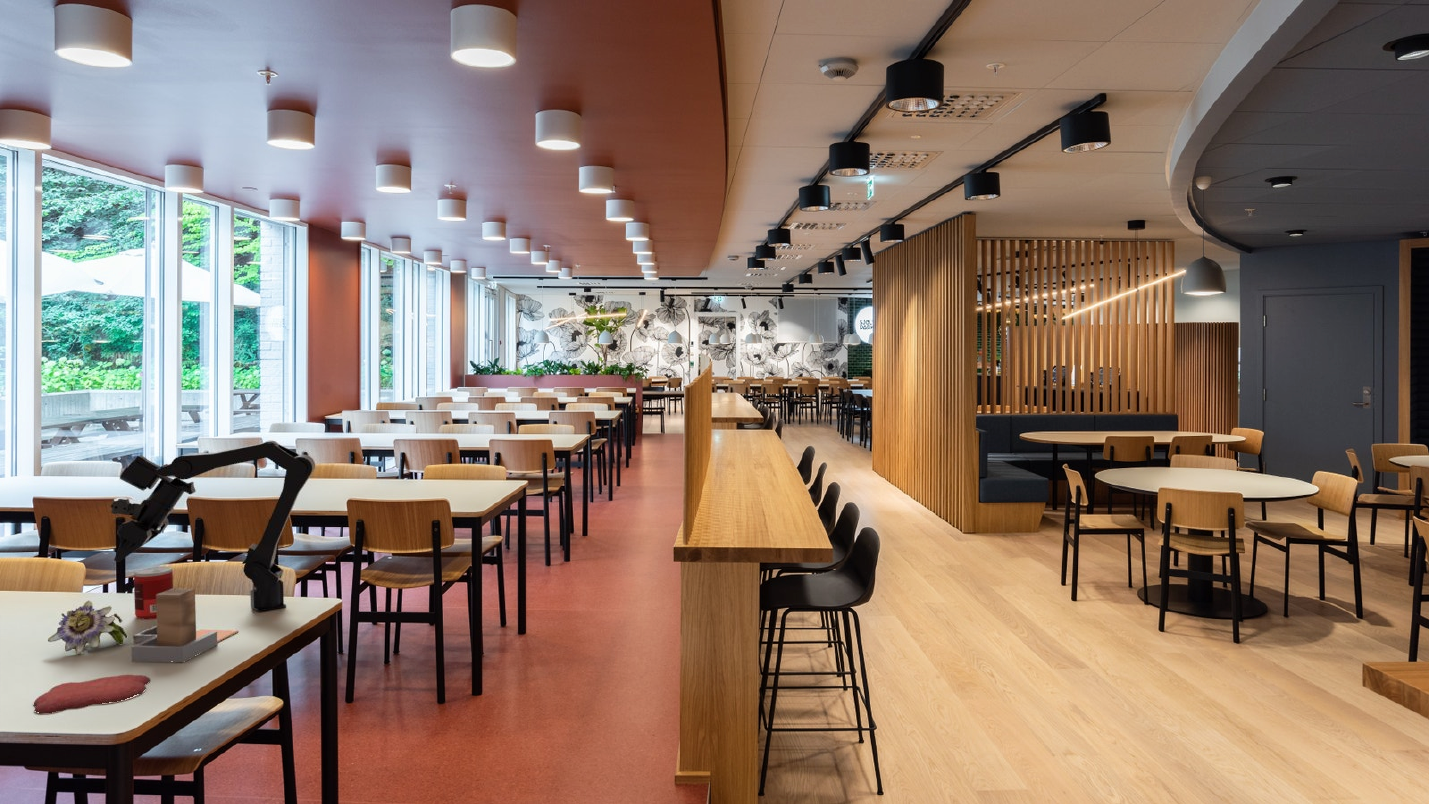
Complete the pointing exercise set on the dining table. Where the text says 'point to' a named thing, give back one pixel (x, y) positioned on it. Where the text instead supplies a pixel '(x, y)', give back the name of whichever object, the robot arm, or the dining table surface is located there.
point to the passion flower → (87, 627)
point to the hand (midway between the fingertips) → (122, 557)
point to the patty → (90, 693)
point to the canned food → (150, 589)
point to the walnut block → (176, 617)
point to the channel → (172, 650)
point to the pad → (220, 633)
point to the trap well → (145, 634)
